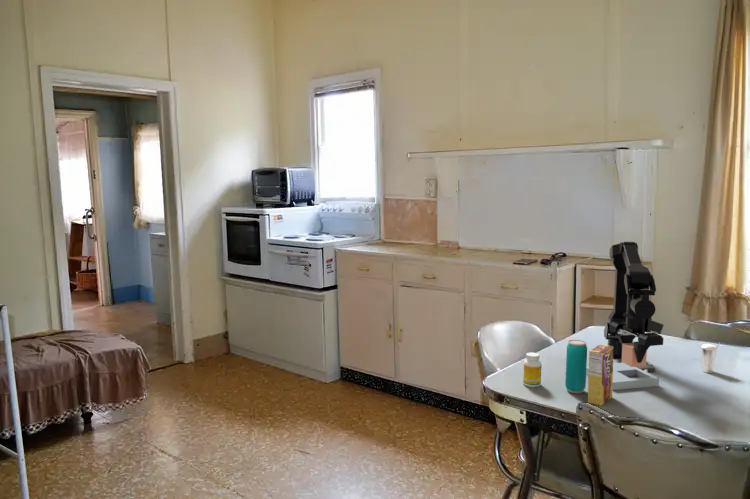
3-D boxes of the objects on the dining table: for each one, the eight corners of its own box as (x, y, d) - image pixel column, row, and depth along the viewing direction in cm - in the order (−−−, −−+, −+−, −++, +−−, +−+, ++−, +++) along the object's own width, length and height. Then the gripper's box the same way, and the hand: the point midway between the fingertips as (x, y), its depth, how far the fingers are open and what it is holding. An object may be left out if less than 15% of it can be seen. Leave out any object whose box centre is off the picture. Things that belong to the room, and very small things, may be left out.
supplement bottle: (520, 381, 190) (521, 351, 188) (538, 381, 190) (539, 351, 188) (525, 387, 184) (526, 356, 183) (542, 387, 184) (544, 356, 183)
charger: (621, 361, 191) (622, 343, 190) (635, 360, 192) (637, 342, 191) (631, 366, 186) (632, 347, 185) (646, 365, 187) (647, 346, 186)
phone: (620, 363, 207) (621, 359, 207) (635, 362, 208) (635, 358, 208) (639, 372, 198) (640, 368, 197) (654, 371, 199) (654, 367, 199)
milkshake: (720, 374, 196) (722, 344, 195) (702, 373, 197) (704, 343, 196) (715, 369, 200) (717, 340, 199) (697, 368, 201) (699, 339, 200)
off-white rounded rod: (644, 371, 199) (644, 368, 199) (648, 372, 198) (648, 369, 198) (638, 377, 193) (638, 374, 193) (642, 377, 193) (642, 374, 193)
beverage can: (585, 388, 183) (587, 340, 181) (585, 395, 178) (587, 345, 176) (565, 386, 185) (567, 338, 183) (564, 393, 180) (566, 343, 178)
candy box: (597, 393, 179) (600, 343, 177) (612, 397, 176) (615, 346, 174) (586, 402, 172) (588, 350, 170) (601, 406, 170) (604, 353, 168)
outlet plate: (582, 372, 197) (582, 365, 197) (626, 369, 201) (626, 362, 201) (611, 390, 182) (612, 382, 182) (658, 385, 185) (659, 378, 185)
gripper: (680, 316, 180) (677, 367, 182) (640, 303, 198) (637, 349, 200) (647, 318, 177) (644, 370, 179) (609, 304, 195) (607, 351, 197)
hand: (633, 360), depth 189 cm, fingers closed on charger, 5 cm apart
